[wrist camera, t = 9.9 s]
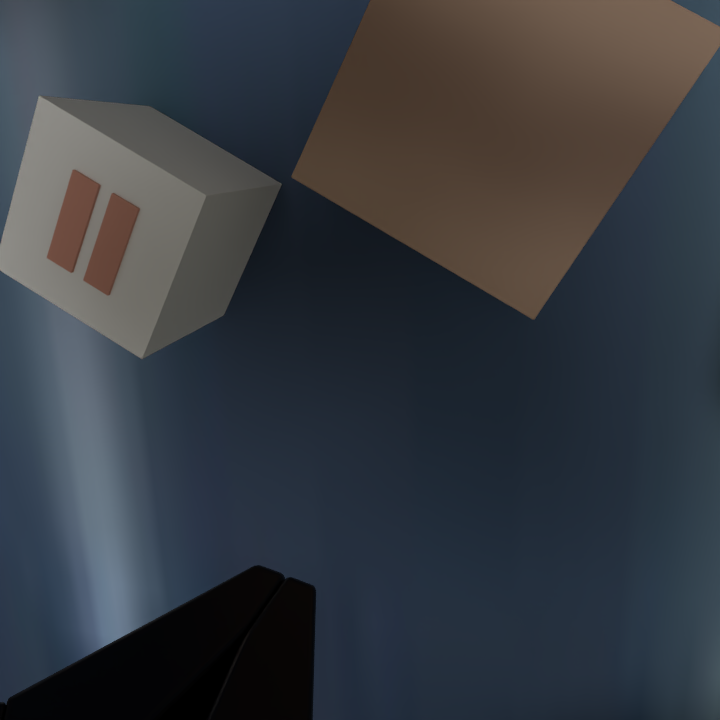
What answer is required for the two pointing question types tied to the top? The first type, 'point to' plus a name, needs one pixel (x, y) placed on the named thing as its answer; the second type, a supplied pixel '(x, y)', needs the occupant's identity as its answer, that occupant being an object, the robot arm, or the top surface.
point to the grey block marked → (131, 220)
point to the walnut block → (501, 126)
